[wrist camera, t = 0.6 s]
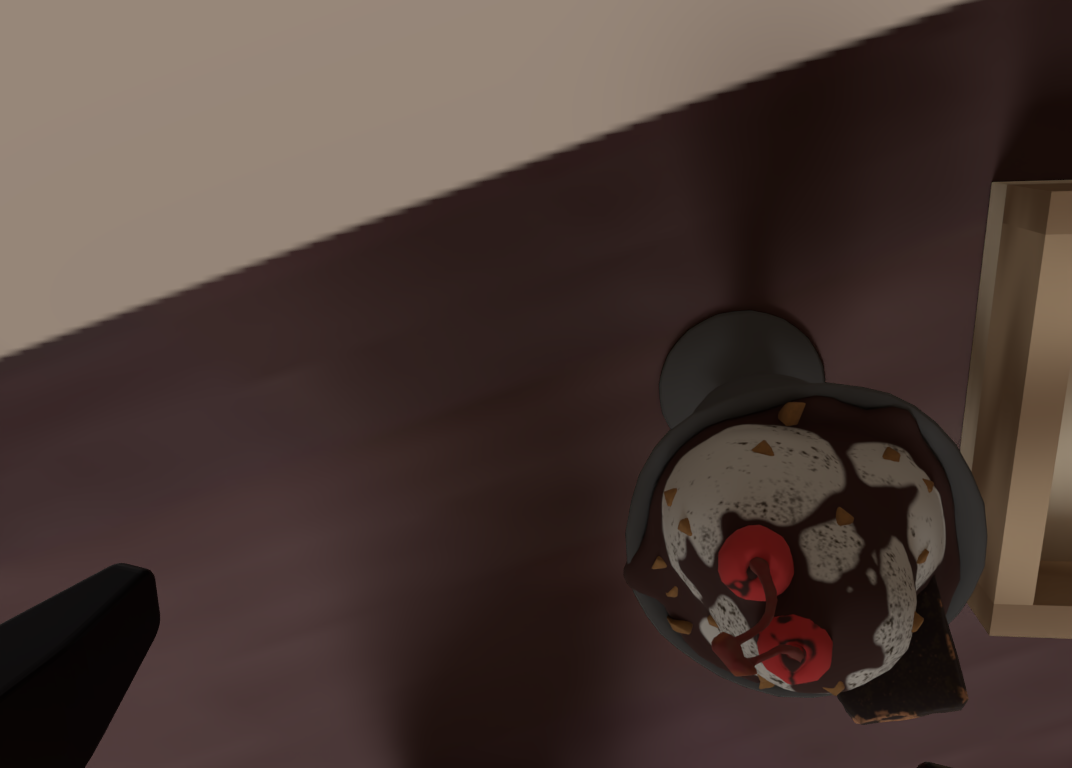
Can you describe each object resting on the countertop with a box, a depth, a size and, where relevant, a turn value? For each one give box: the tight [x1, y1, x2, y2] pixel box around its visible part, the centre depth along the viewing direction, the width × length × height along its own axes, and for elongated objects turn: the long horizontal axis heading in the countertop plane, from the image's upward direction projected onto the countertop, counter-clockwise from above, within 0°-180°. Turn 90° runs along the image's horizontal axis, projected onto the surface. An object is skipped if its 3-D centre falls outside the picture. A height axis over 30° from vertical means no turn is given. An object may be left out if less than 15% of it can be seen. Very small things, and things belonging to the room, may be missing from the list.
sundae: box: [624, 310, 988, 725], centre depth 18 cm, size 7×7×15 cm
